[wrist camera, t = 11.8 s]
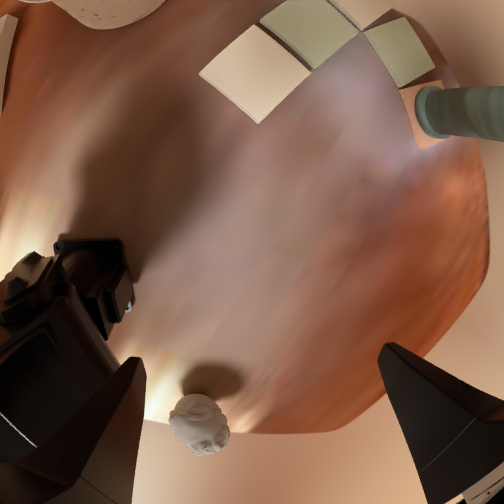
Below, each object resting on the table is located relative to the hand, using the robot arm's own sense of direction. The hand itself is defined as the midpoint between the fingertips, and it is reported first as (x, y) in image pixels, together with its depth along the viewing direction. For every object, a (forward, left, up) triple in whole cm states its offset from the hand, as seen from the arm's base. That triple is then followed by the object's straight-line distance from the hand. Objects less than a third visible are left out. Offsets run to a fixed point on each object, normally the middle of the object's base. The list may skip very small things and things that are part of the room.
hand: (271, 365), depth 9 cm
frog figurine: (-4, -19, -13) cm, 24 cm away
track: (+9, +17, -13) cm, 23 cm away
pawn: (+16, +12, -12) cm, 24 cm away
